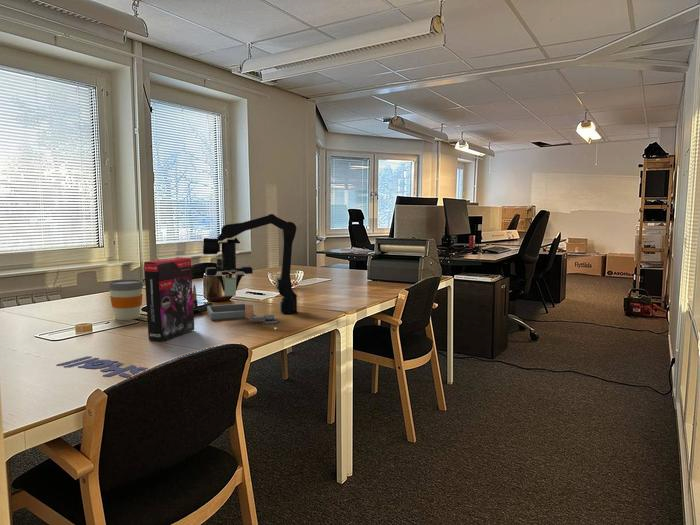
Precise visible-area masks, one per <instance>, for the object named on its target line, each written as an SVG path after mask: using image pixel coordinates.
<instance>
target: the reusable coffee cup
mask: <svg viewBox="0 0 700 525" xmlns="http://www.w3.org/2000/svg"><path fill="white" fill-rule="evenodd" d="M143 288H144V286H143V280H142V279H130V278H129V279H119V280H118V279H117V280H112V281H109V288H108V290H109V292H110V297H109V298H110V302H111V307H112V309H113V312H114V319H115V320H116V321H131V320H136V319H139V318H140V315H141V314H140V313H141V306H142V305H143V304H142V303H143V293H142V292H143Z"/></svg>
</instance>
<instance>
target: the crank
mask: <svg viewBox="0 0 700 525" xmlns="http://www.w3.org/2000/svg"><path fill="white" fill-rule="evenodd" d="M274 318H275V315H274V314H269V313H268V314H264V315H257V316H254V305H253V304H250V303H249V304H248V303H247V305H245V318H244V319H248V321H249V322H254V321H257V322H259V321H261V320H266V321H271V320H274Z"/></svg>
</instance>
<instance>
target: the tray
mask: <svg viewBox="0 0 700 525" xmlns="http://www.w3.org/2000/svg"><path fill="white" fill-rule="evenodd" d="M247 304H248V303H247V302H245V303H234V304H233V303H231V304H219V305H215V304H214V305H207V306H206V313H207V315H208V317H209V320H210V322H215V321H223V320H224V321H225V320H238V319H240V320H241V319H246V318H245V305H247Z"/></svg>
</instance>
